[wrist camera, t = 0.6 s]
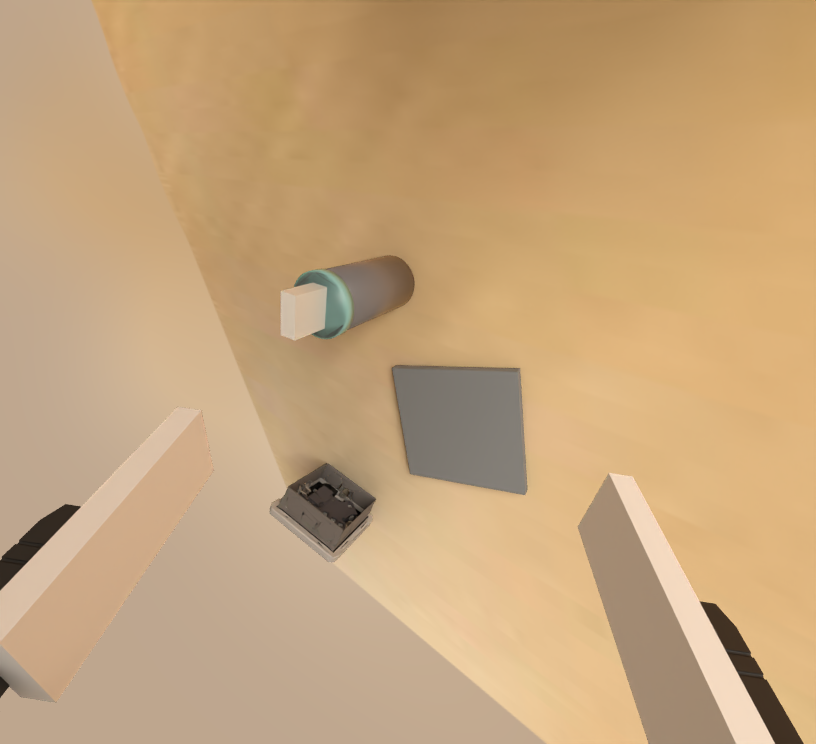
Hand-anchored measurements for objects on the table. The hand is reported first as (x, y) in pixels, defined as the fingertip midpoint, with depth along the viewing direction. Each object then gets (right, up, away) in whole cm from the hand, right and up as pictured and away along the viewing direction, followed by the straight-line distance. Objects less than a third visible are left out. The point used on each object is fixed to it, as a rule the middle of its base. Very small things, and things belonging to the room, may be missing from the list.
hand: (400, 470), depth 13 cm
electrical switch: (-7, -11, +36) cm, 38 cm away
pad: (+5, -2, +24) cm, 25 cm away
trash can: (-1, +11, +22) cm, 25 cm away
